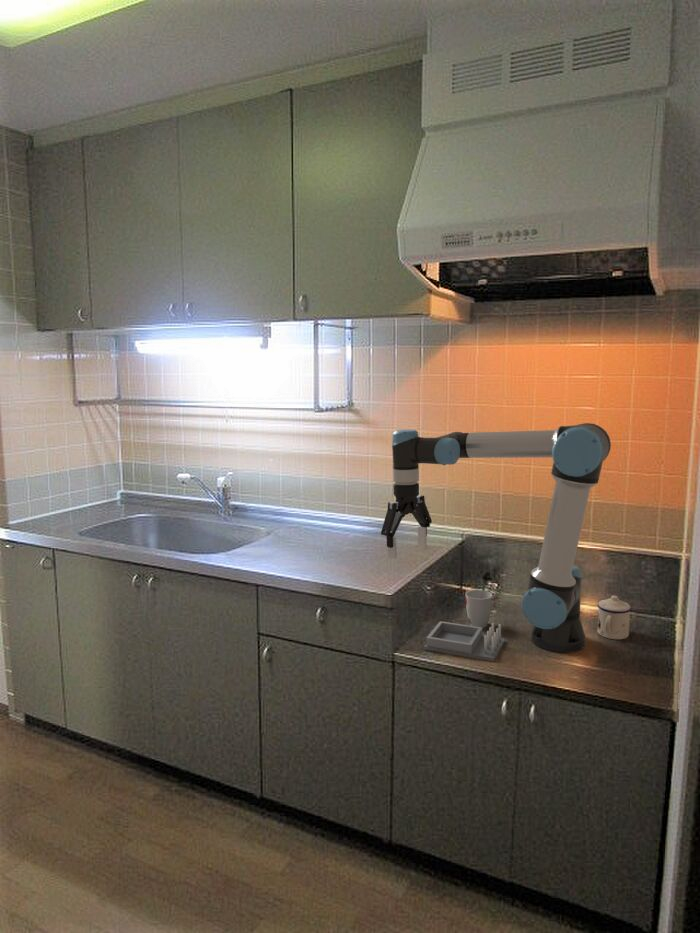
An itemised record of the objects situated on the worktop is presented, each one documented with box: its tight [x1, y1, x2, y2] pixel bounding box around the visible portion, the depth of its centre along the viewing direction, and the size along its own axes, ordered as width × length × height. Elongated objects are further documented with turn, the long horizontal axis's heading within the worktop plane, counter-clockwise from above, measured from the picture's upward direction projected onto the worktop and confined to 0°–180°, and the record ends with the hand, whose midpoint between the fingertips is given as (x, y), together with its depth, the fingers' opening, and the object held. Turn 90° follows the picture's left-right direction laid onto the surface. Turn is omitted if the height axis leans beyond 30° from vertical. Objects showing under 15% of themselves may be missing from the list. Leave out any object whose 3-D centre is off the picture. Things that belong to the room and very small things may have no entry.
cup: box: [465, 589, 493, 629], centre depth 203 cm, size 8×8×10 cm
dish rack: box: [423, 621, 506, 662], centre depth 189 cm, size 20×14×6 cm
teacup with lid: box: [597, 595, 632, 640], centre depth 193 cm, size 12×9×12 cm
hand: (407, 552), depth 196 cm, fingers open, 13 cm apart
